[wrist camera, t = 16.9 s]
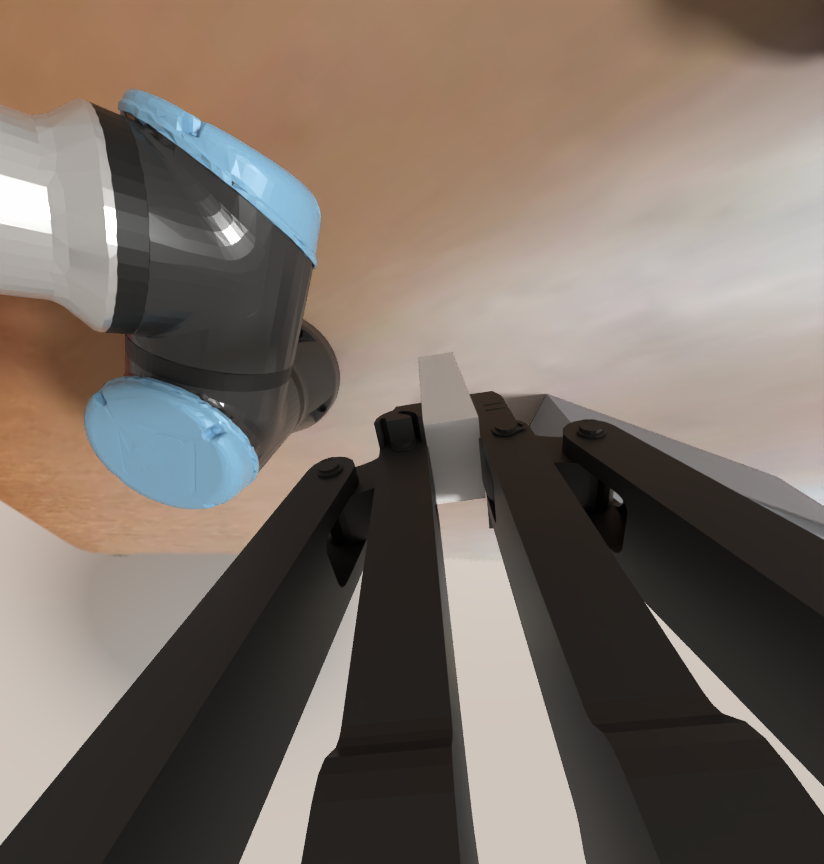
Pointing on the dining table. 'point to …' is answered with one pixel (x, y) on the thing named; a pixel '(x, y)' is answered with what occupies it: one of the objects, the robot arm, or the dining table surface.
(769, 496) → the button console
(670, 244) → the dining table surface
